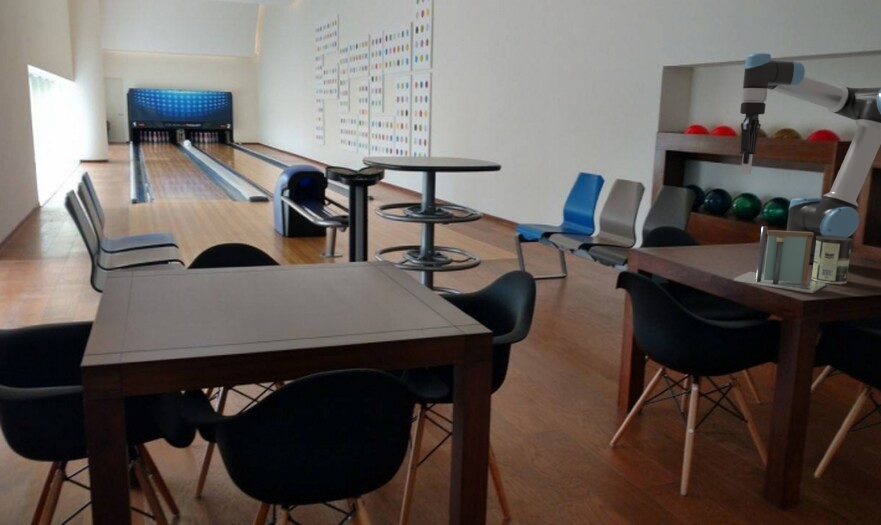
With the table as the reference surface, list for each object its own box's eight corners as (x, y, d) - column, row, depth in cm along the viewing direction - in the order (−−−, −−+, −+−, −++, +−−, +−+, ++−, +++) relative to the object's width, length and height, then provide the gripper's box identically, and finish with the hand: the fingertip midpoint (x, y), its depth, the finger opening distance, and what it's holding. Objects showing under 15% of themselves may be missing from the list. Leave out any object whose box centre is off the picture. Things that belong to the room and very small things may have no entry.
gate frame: (812, 293, 220) (820, 233, 217) (733, 280, 235) (740, 224, 231) (824, 285, 231) (832, 228, 228) (749, 273, 246) (755, 220, 242)
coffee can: (840, 278, 243) (846, 236, 240) (851, 285, 233) (857, 241, 230) (807, 276, 245) (812, 234, 242) (816, 283, 235) (821, 239, 232)
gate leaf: (763, 280, 230) (769, 230, 227) (761, 278, 231) (767, 230, 228) (807, 282, 228) (813, 233, 225) (805, 281, 230) (811, 232, 227)
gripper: (748, 102, 252) (740, 172, 256) (735, 101, 242) (727, 173, 247) (771, 102, 247) (763, 173, 252) (759, 101, 237) (750, 175, 242)
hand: (745, 173), depth 249 cm, fingers closed
